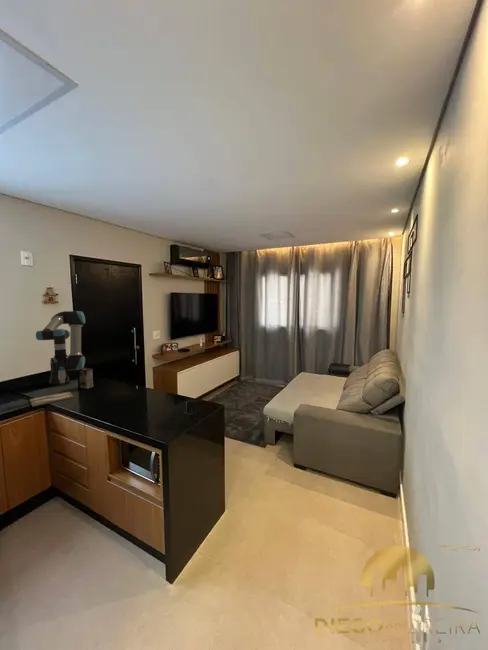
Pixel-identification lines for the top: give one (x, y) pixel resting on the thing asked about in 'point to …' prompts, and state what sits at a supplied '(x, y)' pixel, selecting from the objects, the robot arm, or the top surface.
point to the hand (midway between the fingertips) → (62, 378)
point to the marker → (62, 375)
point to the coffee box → (86, 378)
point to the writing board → (51, 398)
